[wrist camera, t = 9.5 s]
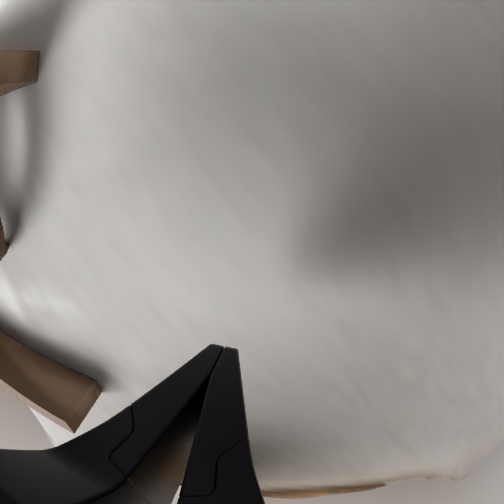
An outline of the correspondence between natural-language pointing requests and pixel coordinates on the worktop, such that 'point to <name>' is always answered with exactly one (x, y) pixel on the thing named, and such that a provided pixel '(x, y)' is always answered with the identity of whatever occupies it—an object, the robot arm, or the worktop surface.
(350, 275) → the worktop surface
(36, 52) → the walnut bay
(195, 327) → the worktop surface
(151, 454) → the robot arm
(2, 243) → the pottery mug
